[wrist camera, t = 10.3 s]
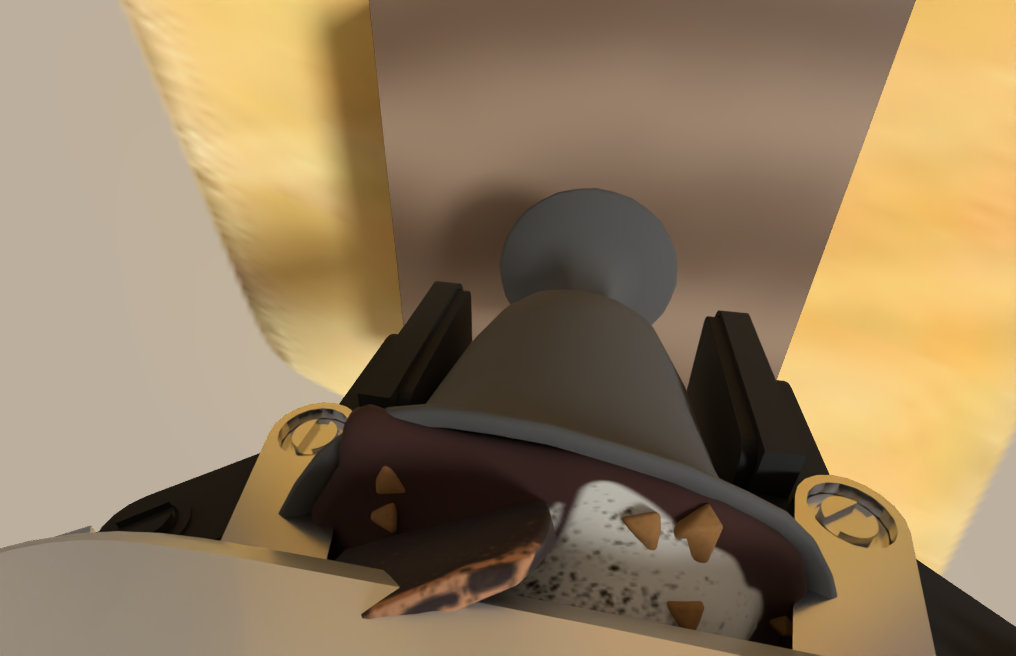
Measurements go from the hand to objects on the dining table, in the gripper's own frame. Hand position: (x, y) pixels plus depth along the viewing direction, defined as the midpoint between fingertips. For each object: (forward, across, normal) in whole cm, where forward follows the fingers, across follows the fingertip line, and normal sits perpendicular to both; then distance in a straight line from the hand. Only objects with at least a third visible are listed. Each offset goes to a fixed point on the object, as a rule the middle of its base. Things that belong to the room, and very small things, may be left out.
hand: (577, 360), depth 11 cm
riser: (+11, 0, 0) cm, 11 cm away
